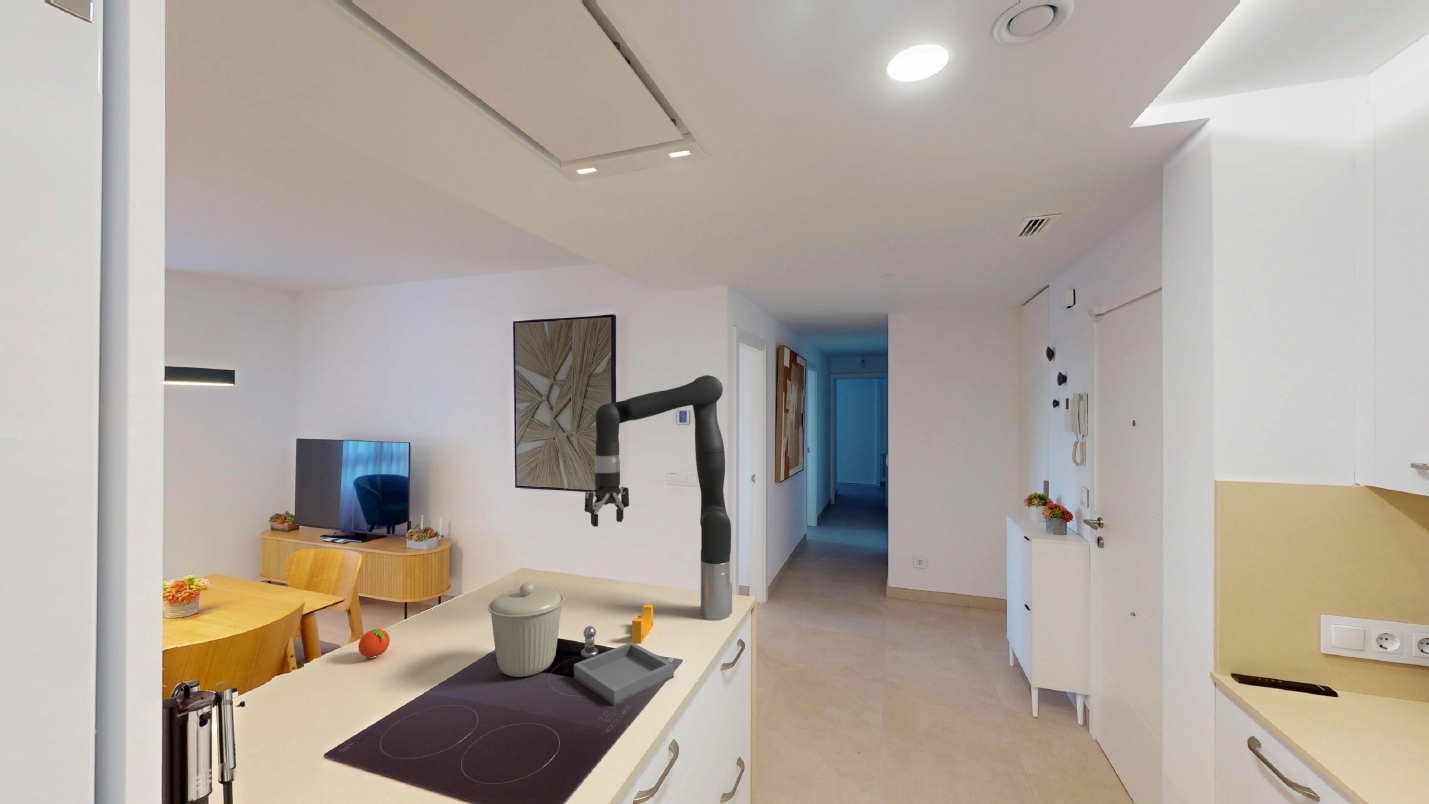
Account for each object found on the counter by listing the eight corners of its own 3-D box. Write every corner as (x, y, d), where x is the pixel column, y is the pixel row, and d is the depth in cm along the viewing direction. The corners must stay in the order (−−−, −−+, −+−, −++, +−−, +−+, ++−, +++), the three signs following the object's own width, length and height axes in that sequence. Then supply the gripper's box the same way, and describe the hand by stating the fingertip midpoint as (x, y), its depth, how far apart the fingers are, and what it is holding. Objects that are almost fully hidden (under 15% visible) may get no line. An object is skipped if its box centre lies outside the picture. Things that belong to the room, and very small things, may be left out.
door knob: (592, 648, 144) (592, 621, 144) (601, 653, 140) (601, 626, 140) (577, 653, 140) (578, 626, 140) (586, 659, 137) (586, 631, 137)
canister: (578, 656, 139) (578, 576, 139) (533, 691, 122) (533, 600, 122) (521, 646, 145) (521, 569, 145) (471, 678, 128) (471, 591, 128)
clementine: (398, 654, 140) (398, 627, 140) (371, 666, 134) (371, 637, 134) (378, 648, 144) (379, 622, 144) (352, 659, 137) (352, 632, 137)
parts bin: (631, 655, 140) (631, 641, 140) (673, 678, 128) (673, 664, 128) (574, 678, 128) (574, 664, 128) (614, 707, 116) (614, 691, 116)
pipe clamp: (639, 625, 159) (639, 604, 159) (653, 626, 158) (653, 605, 158) (626, 643, 147) (626, 620, 147) (641, 644, 146) (641, 621, 146)
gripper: (620, 467, 167) (619, 518, 167) (579, 471, 157) (579, 525, 157) (634, 469, 162) (634, 522, 162) (593, 473, 152) (593, 530, 152)
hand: (607, 524), depth 160 cm, fingers open, 8 cm apart
